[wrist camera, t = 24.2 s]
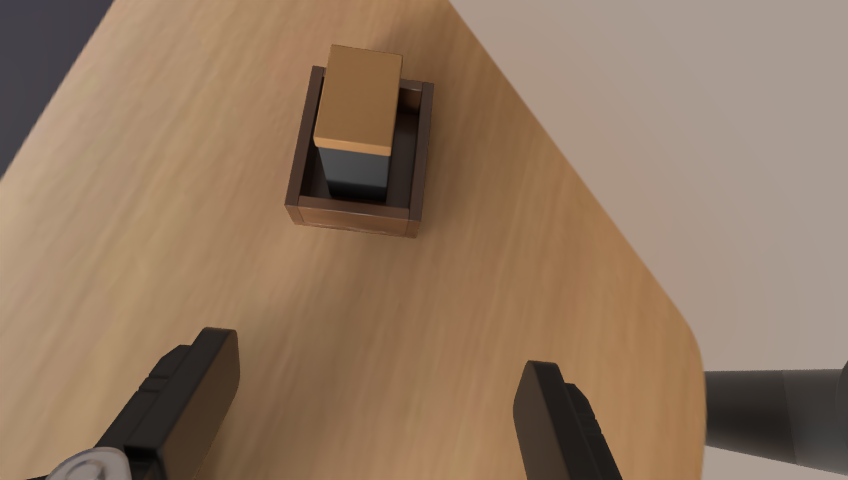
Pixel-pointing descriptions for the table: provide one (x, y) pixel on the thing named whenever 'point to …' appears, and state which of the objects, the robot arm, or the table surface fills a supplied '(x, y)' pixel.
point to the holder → (406, 176)
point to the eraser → (358, 121)
